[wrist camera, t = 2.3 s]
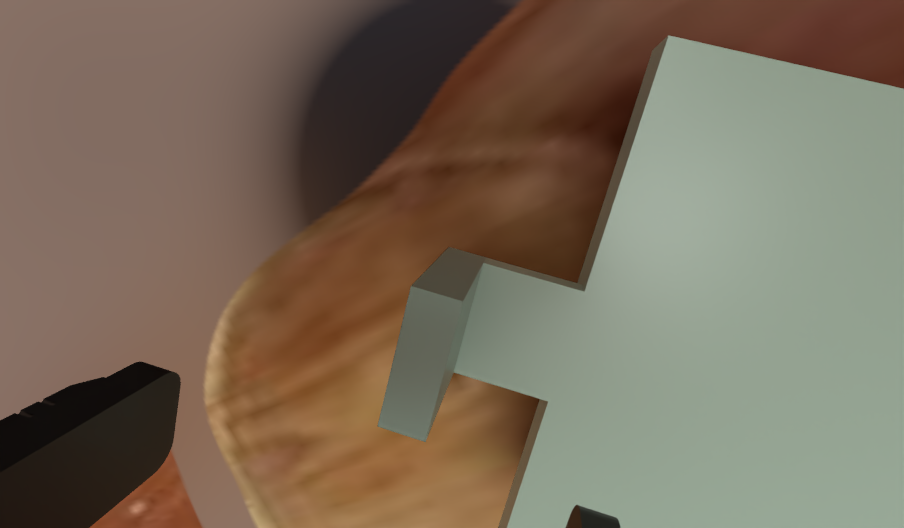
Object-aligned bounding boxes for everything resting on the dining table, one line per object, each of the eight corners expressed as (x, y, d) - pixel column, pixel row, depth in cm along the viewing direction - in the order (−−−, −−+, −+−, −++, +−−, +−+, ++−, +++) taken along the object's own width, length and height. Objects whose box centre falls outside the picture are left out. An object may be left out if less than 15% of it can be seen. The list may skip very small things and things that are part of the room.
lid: (512, 17, 20) (493, -60, 12) (1204, 177, 17) (1692, 198, 10) (387, 504, 25) (324, 648, 18) (898, 679, 22) (1066, 930, 15)
